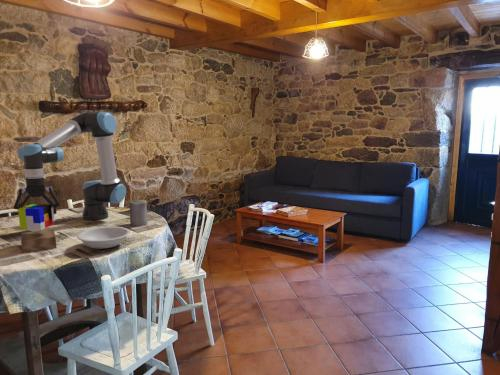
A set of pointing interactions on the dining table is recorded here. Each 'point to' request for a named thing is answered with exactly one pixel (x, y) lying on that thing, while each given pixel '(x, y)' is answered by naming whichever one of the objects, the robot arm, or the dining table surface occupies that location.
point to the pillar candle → (138, 212)
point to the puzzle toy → (35, 217)
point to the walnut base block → (38, 240)
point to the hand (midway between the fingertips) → (38, 221)
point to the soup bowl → (103, 237)
